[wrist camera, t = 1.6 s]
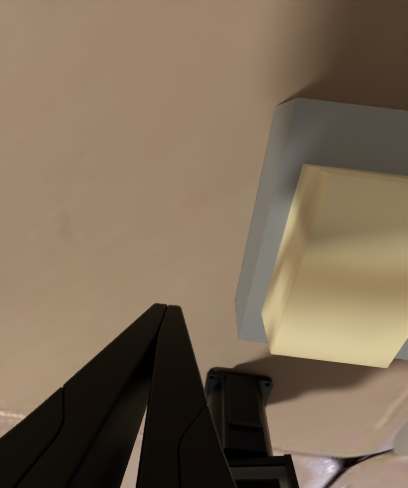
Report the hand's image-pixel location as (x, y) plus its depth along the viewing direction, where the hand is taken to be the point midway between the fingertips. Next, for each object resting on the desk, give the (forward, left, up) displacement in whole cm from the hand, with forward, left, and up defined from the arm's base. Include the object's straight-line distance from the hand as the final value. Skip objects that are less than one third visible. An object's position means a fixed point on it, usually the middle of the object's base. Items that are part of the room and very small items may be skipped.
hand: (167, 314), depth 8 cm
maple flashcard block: (0, -8, -6) cm, 10 cm away
